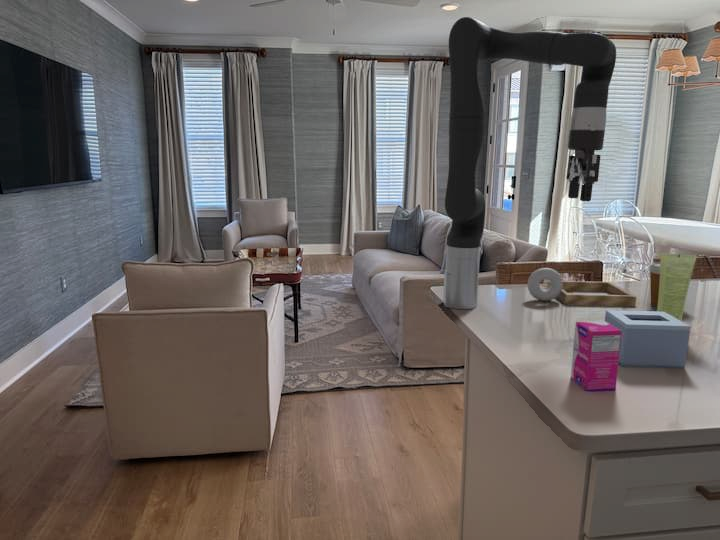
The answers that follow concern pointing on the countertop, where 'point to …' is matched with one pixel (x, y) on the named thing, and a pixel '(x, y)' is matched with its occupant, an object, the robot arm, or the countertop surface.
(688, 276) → the tube
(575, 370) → the supplement box
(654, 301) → the disposable coffee cup
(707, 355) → the countertop surface
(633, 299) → the frame
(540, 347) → the countertop surface
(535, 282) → the donut
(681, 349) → the box
